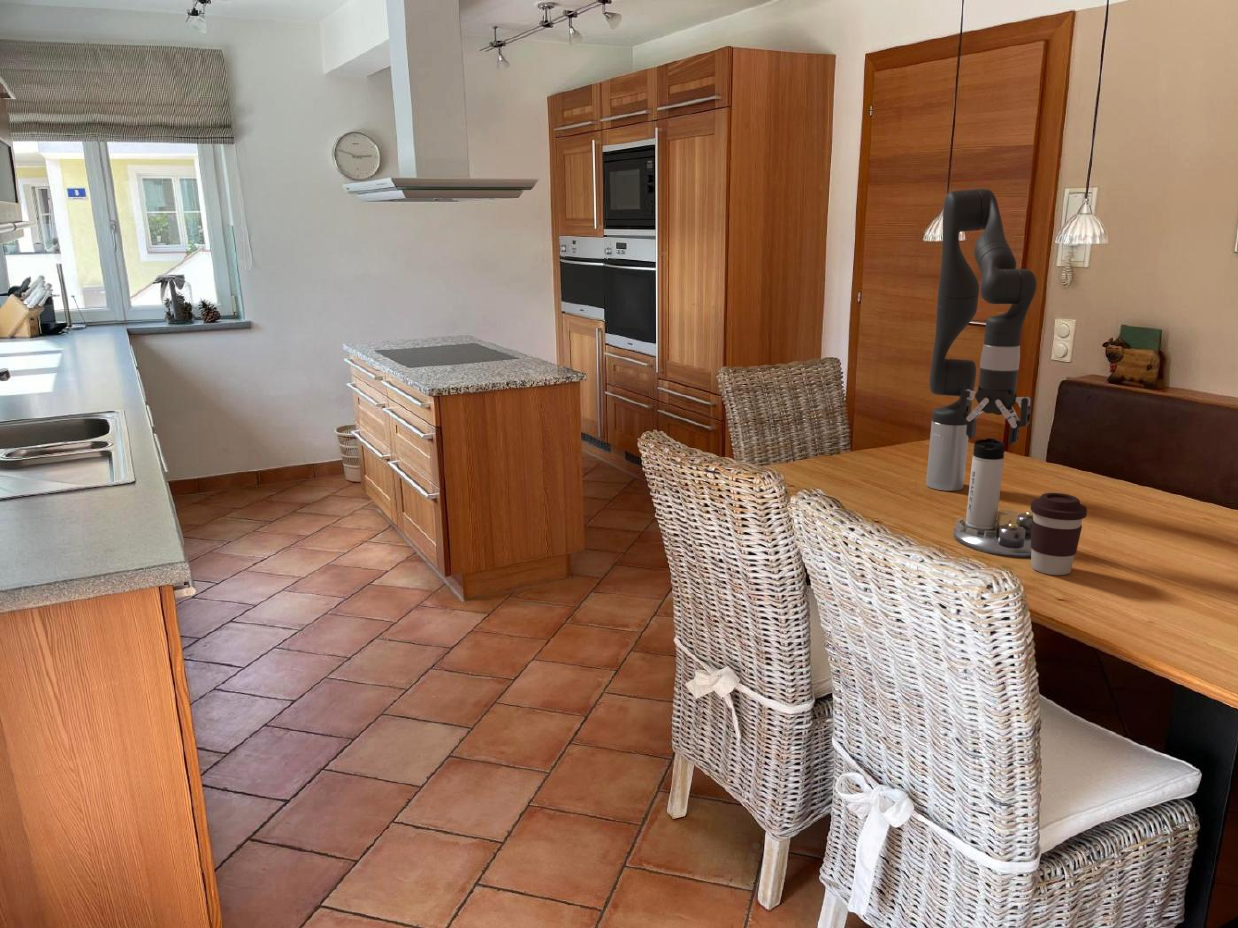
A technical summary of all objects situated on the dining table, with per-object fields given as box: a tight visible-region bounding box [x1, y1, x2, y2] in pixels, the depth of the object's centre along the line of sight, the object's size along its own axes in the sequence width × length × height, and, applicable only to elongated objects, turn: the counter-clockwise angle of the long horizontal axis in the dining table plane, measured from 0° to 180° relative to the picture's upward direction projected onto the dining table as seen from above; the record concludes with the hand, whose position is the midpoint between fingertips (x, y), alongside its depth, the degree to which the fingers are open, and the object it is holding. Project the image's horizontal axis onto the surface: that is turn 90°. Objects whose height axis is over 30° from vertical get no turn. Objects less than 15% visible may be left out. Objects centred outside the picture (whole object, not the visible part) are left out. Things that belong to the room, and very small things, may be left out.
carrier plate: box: [953, 509, 1033, 559], centre depth 195 cm, size 21×21×6 cm
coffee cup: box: [1030, 492, 1088, 576], centre depth 177 cm, size 10×10×15 cm
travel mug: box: [965, 437, 1006, 534], centre depth 196 cm, size 6×7×20 cm
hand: (991, 441), depth 193 cm, fingers open, 8 cm apart
